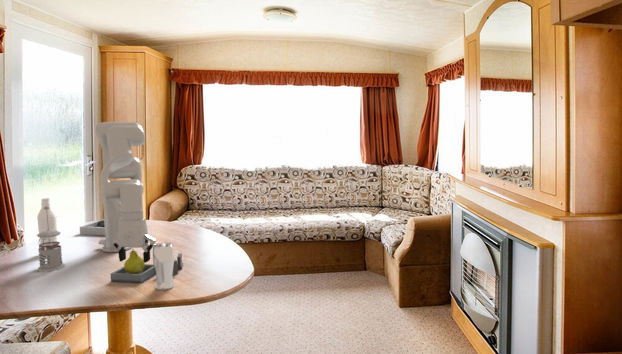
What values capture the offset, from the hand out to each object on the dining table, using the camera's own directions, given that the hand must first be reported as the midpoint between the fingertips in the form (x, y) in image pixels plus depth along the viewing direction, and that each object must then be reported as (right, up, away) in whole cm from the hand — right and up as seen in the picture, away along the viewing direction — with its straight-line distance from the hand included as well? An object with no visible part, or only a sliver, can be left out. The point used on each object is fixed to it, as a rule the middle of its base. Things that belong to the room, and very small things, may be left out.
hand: (134, 260), depth 156 cm
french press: (-40, -5, +13) cm, 42 cm away
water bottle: (-51, -3, +31) cm, 59 cm away
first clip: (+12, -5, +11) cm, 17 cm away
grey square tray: (0, -6, +1) cm, 6 cm away
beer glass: (+15, -7, -10) cm, 19 cm away
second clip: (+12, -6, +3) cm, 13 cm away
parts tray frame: (-44, +2, +77) cm, 88 cm away
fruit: (0, -5, +1) cm, 5 cm away
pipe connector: (-46, +1, +76) cm, 88 cm away
